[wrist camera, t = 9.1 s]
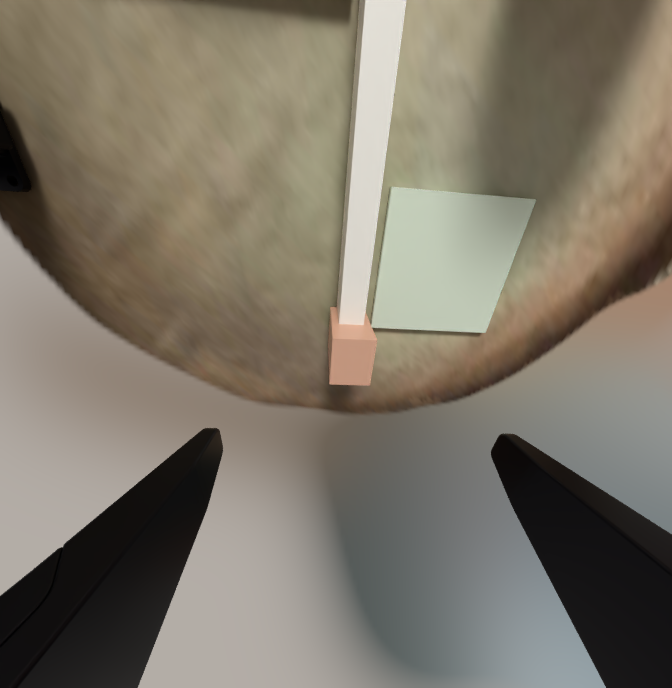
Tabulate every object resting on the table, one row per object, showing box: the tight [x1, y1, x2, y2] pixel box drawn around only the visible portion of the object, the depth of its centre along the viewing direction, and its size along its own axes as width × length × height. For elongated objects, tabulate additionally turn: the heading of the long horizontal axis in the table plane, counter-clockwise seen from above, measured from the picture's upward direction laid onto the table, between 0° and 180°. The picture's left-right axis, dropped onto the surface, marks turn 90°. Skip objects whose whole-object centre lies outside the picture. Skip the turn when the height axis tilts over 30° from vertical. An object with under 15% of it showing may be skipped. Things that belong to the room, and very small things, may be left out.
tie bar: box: [328, 0, 406, 386], centre depth 12 cm, size 2×20×5 cm, turn 176°
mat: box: [370, 187, 536, 333], centre depth 17 cm, size 9×9×1 cm
